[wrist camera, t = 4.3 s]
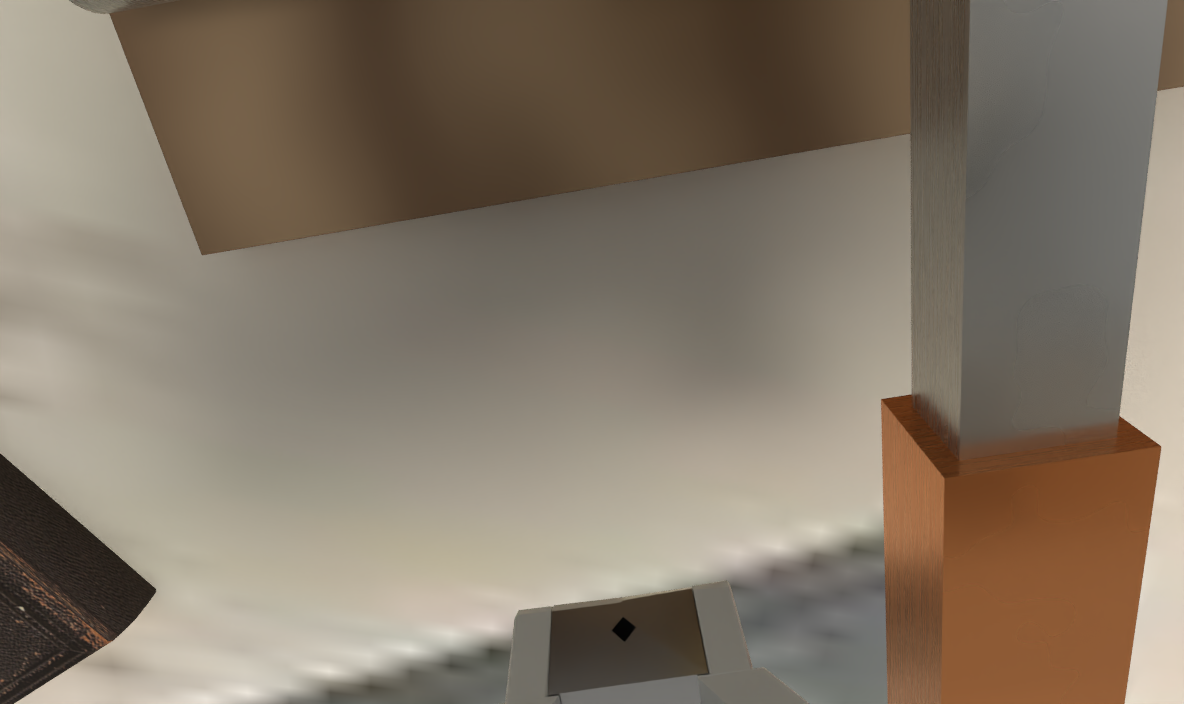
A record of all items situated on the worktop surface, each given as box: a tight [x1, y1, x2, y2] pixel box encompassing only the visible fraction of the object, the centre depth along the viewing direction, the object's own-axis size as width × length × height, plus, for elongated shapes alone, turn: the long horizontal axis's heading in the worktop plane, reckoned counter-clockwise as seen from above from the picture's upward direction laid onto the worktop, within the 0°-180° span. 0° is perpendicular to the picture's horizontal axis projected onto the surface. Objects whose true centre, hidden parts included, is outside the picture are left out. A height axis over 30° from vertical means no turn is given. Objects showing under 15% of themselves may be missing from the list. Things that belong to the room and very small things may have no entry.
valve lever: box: [881, 0, 1168, 704], centre depth 9 cm, size 17×3×2 cm, turn 10°
